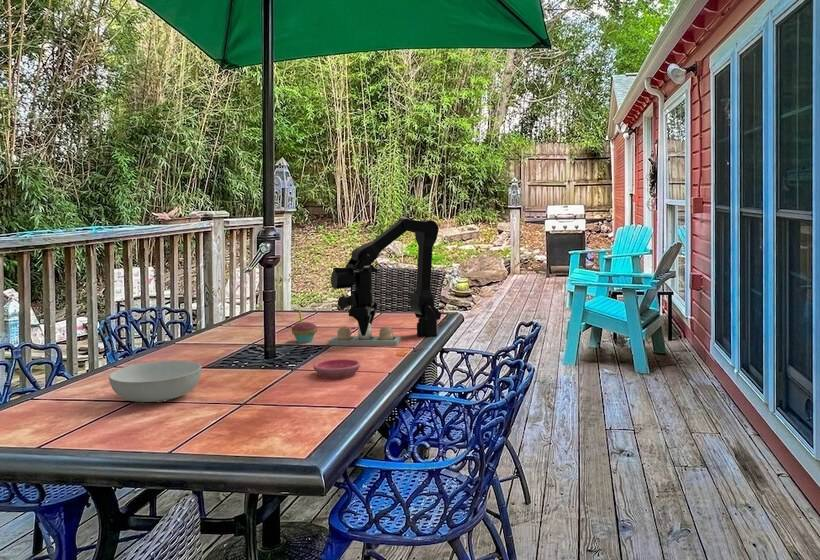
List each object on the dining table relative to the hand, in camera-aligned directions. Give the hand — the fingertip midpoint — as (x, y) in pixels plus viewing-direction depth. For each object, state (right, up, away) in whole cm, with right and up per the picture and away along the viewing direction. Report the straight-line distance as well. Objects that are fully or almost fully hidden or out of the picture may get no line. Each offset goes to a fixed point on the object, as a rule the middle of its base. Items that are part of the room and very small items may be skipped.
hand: (365, 334), depth 222 cm
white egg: (0, -1, 0) cm, 1 cm away
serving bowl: (-46, -11, -58) cm, 75 cm away
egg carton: (0, -3, 0) cm, 3 cm away
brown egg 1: (-7, -3, +1) cm, 8 cm away
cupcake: (-20, -4, +5) cm, 21 cm away
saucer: (-5, -8, -39) cm, 40 cm away
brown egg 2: (+7, -3, -1) cm, 8 cm away
